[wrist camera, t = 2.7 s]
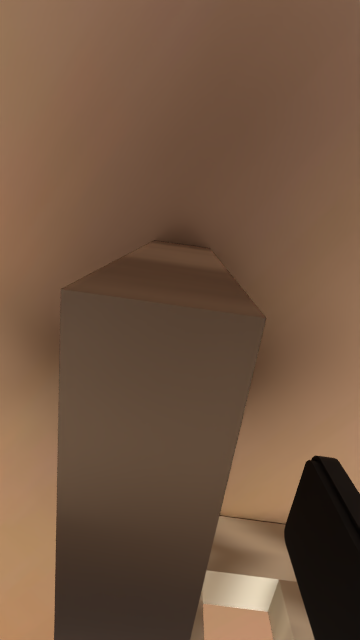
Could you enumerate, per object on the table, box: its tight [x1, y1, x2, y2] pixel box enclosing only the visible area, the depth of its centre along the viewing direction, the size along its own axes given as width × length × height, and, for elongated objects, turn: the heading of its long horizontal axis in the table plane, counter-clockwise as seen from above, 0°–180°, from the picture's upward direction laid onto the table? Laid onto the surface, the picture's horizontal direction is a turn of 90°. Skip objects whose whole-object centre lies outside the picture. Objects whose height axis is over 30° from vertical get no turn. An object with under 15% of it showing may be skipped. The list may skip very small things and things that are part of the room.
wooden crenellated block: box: [190, 516, 315, 640], centre depth 15 cm, size 22×2×6 cm, turn 82°
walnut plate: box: [54, 240, 266, 640], centre depth 10 cm, size 12×2×10 cm, turn 172°
